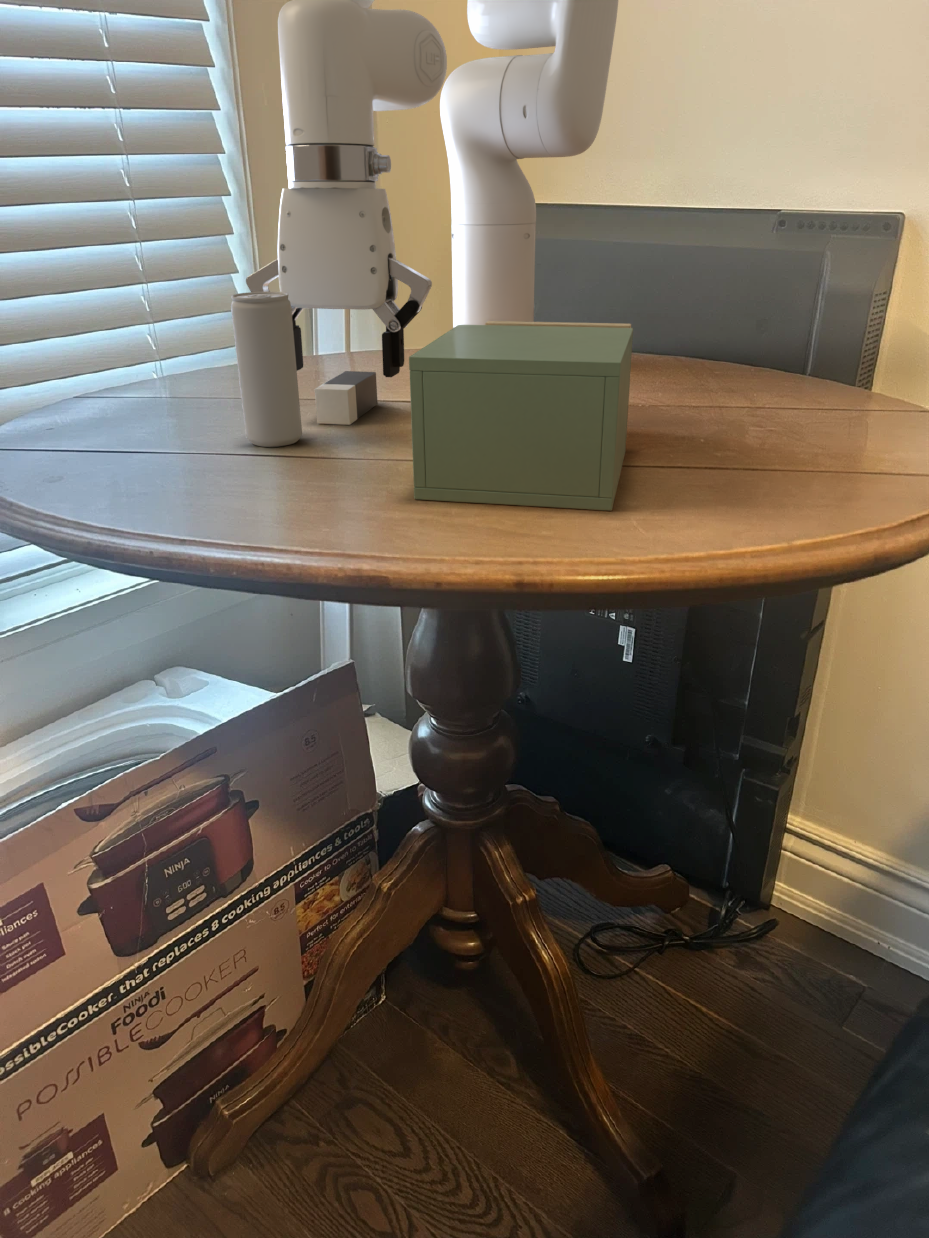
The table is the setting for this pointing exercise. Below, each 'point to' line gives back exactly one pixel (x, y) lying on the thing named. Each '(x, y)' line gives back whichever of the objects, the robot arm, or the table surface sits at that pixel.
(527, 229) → the robot arm
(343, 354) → the table surface
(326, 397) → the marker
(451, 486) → the cabinet
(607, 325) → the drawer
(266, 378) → the beverage can
